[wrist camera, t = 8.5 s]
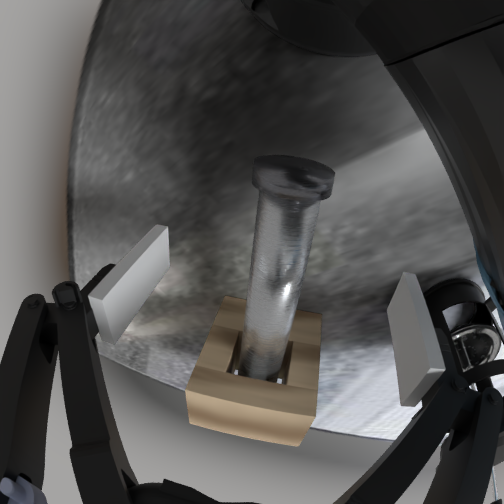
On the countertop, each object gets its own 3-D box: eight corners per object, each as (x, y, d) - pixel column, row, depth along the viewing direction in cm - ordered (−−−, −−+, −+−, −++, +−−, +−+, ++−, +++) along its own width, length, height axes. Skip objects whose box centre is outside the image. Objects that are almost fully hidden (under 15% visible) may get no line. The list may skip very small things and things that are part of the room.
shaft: (261, 151, 19) (245, 169, 15) (332, 163, 19) (337, 185, 15) (236, 366, 30) (225, 403, 26) (281, 375, 30) (274, 413, 26)
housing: (224, 295, 32) (185, 389, 22) (321, 314, 31) (315, 416, 21) (222, 335, 35) (189, 423, 25) (308, 352, 34) (298, 446, 24)
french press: (431, 358, 31) (456, 540, 12) (385, 323, 30) (402, 549, 10) (506, 297, 25) (579, 480, 6) (470, 249, 24) (575, 477, 4)
